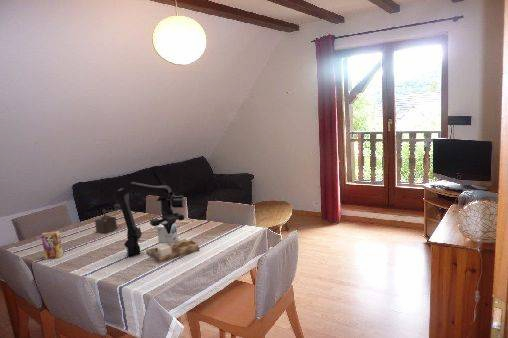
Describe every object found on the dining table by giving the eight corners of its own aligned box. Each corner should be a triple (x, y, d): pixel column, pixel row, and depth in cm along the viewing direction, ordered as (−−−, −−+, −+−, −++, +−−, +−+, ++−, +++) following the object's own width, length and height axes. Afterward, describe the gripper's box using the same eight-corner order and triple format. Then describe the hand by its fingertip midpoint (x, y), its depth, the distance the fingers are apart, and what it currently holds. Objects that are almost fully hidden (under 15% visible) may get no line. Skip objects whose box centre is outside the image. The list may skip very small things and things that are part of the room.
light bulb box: (178, 239, 230) (176, 223, 228) (173, 243, 224) (171, 226, 222) (163, 238, 233) (161, 223, 231) (158, 242, 227) (156, 226, 225)
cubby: (180, 252, 203) (179, 249, 202) (173, 247, 211) (173, 244, 210) (198, 247, 209) (198, 244, 209) (191, 242, 217) (190, 239, 217)
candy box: (63, 254, 216) (59, 230, 214) (60, 257, 212) (56, 233, 210) (48, 256, 216) (44, 232, 213) (44, 259, 211) (40, 234, 209)
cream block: (161, 256, 198) (160, 250, 198) (157, 253, 203) (157, 247, 203) (171, 253, 202) (171, 247, 201) (167, 250, 207) (167, 244, 206)
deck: (158, 263, 195) (157, 257, 194) (146, 253, 210) (145, 247, 210) (199, 250, 209) (198, 245, 208) (185, 242, 224) (185, 236, 224)
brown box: (106, 234, 250) (103, 209, 247) (95, 232, 255) (92, 208, 252) (123, 227, 263) (120, 203, 260) (113, 225, 269) (110, 202, 266)
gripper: (155, 214, 193) (157, 241, 195) (187, 207, 203) (189, 233, 206) (148, 209, 202) (151, 236, 204) (179, 203, 212) (181, 228, 215)
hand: (168, 233), depth 207 cm, fingers closed
